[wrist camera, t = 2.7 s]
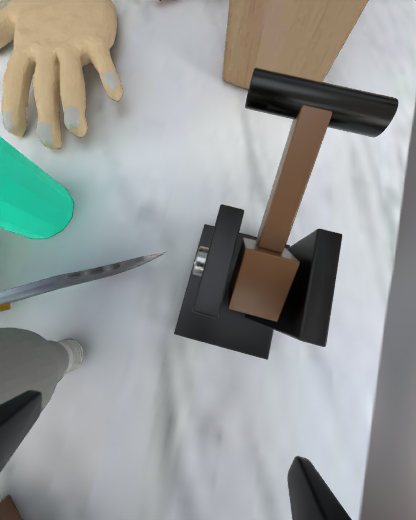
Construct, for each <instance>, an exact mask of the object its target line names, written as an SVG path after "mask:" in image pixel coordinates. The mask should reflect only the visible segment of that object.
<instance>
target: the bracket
mask: <svg viewBox="0 0 416 520" xmlns="http://www.w3.org/2000/svg"><path fill="white" fill-rule="evenodd" d="M243 214H244V210H242V209H238V208H234V207H230V206H226V205H220V208H219V212H218V216H217V220H216V223H215V227H214V226H210V225H207V224H205V225H204V228H203V232H202V235H201V239H200V242H199V246H198V250H197V253H196V257H195V260H194V264H193V268H192V271H191V275H190V278H189V282H188V286H187V289H186V293H185V296H184V300H183V304H182V307H181V311H180V314H179V318H178V321H177V325H176V329H175V332H174V334H176V335H180V336H183V337H187V338H191V339H194V340H198V341H201V342H205V343H209V344H212V345H216V346H220V347H223V348H227V349H231V350H234V351H238V352H242V353H245V354H249V355H253V356H256V357H260V358H263V359H268V355H269V350H270V345H271V340H272V335H273V330H276V331H279V332H281V333H283V334H286V335H288V336H290V337H293V338H295V339H298V340H300V341H303V342H307V343H311V344H315V345H318V346H322V347H325V346H326V342H327V335H328V328H329V321H330V315H331V308H332V301H333V294H334V288H335V281H336V274H337V267H338V261H339V254H340V247H341V240H342V234H339V233H335V232H331V231H327V230H323V229H317V230H315V231H314V232H312V233H311V234H309V235H308V236H306V237H305V238H303V239H301V240H300V241H298V242H297V243H295V244H294V245H292V246H291V247H290V245H285V248H286V249H287V250H288V251H289V252H290V253H291V254H292V255H293V256H294V257H295V258H296V259H297V260H298V261H299V262H300V264H299V267H298V269H297V272H296V274H295V277H294V280H293V282H292V285H291V287H290V290H289V292H288V295H287V298H286V300H285V303H284V305H283V308H282V311H281V313H280V316H279V318H278V321H272V320H269V319H265V318H261V317H257V316H254V315H250V314H246V313H242V312H239V311H235V310H231V309H228V297H229V285H230V281H231V278H232V274H233V271H234V267H235V264H236V260H237V257H238V253H239V250H240V246H241V243H242V239H243V238H248V239H252V240H256V239H257V237H254V236H250V235H246V234H242V233H239V231H240V227H241V222H242V218H243Z"/></svg>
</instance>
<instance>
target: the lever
mask: <svg viewBox="0 0 416 520" xmlns="http://www.w3.org/2000/svg"><path fill="white" fill-rule="evenodd" d="M245 108H246V109H251V110H255V111H259V112H264V113H268V114H273V115H277V116H281V117H286V118H290V119H293V122H292V126H291V129H290V132H289V135H288V139H287V142H286V145H285V148H284V152H283V155H282V158H281V161H280V165H279V168H278V171H277V174H276V178H275V181H274V184H273V187H272V191H271V194H270V197H269V200H268V203H267V207H266V210H265V213H264V216H263V220H262V223H261V226H260V229H259V233H258V236H257V239H256V240H252V239H248V238H243V239H242V243H241V246H240V250H239V253H238V257H237V260H236V264H235V267H234V271H233V274H232V278H231V281H230V285H229V297H228V309H231V310H235V311H239V312H242V313H246V314H250V315H254V316H257V317H261V318H265V319H269V320H272V321H278V318H279V316H280V313H281V311H282V308H283V305H284V303H285V300H286V298H287V295H288V292H289V290H290V287H291V285H292V282H293V280H294V277H295V274H296V272H297V269H298V267H299V264H300V262H299V261H298V260H297V259H296V258H295V257H294V256H293V255H292V254H291V253H290V252H289V251H288V250H287V249H286V248H285V245H286V243H287V240H288V237H289V234H290V231H291V229H292V226H293V223H294V220H295V217H296V214H297V212H298V209H299V206H300V203H301V200H302V197H303V195H304V192H305V189H306V186H307V183H308V181H309V178H310V175H311V172H312V169H313V166H314V164H315V161H316V158H317V155H318V152H319V149H320V147H321V144H322V141H323V138H324V135H325V133H326V130H327V127H330V128H334V129H339V130H343V131H347V132H352V133H356V134H361V135H365V136H369V137H377V136H378V135H380V134H381V133H382V132H383V131H384V130H385V129H386V128H387V126H388V125H389V124H390V122H391V121H392V119H393V117H394V115H395V113H396V111H397V108H398V100H397V99H396V98H393V97H388V96H384V95H379V94H374V93H370V92H365V91H361V90H356V89H352V88H347V87H342V86H338V85H333V84H329V83H324V82H320V81H315V80H311V79H306V78H301V77H297V76H292V75H288V74H283V73H279V72H274V71H269V70H265V69H260V68H254V70H253V73H252V77H251V81H250V85H249V90H248V94H247V99H246V104H245Z"/></svg>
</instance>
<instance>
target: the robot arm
mask: <svg viewBox="0 0 416 520" xmlns="http://www.w3.org/2000/svg"><path fill="white" fill-rule="evenodd" d="M42 396H43V395H42V392H40V391H36V390H28V391H25V392H23V393H22V394H20V395H18V396H16V397H14V398H12V399H10V400H8V401H6V402H4V403H2V404H0V472H1V471H2V469H3V468H4V466H5V465H6V464H7V462H8V461H9V459H10V458H11V456H12V455H13V453H14V452H15V451H16V449H17V448H18V446H19V445H20V443H21V442H22V441H23V439H24V438H25V436H26V435H27V433H28V432H29V430H30V429H31V428H32V426H33V425H34V423H35V422H36V420H37V419H38V417H39V415H40V413H41V409H42ZM288 488H289V496H290V503H291V511H292V519H293V520H351V518H350V517H349V515H348V514H347V513H346V511H345V510H344V508H343V507H342V506H341V504H340V503H339V501H338V500H337V499H336V497H335V496H334V494H333V493H332V491H331V490H330V489H329V487H328V486H327V484H326V483H325V482H324V480H323V479H322V477H321V476H320V474H319V473H318V472H317V470H316V469H315V467H314V466H313V465H312V463H311V462H310V461H309V460H308V459H307V458H303V457H299V456H296V457H295V458H294V460H293V463H292V465H291V467H290V469H289V472H288Z"/></svg>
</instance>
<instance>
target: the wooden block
mask: <svg viewBox="0 0 416 520" xmlns="http://www.w3.org/2000/svg"><path fill="white" fill-rule="evenodd" d="M368 1H369V0H230V2H229V12H228V23H227V33H226V44H225V54H224V64H223V80H224V81H225V82H228V83H231V84H234V85H237V86H240V87H243V88H246V89H249V85H250V81H251V77H252V73H253V70H254V68H260V69H265V70H269V71H274V72H279V73H283V74H288V75H292V76H297V77H301V78H306V79H311V80H315V81H320V82H323V80H324V78H325V76H326V75H327V73H328V71H329V69H330V68H331V66H332V64H333V62H334V60H335V59H336V57H337V55H338V53H339V52H340V50H341V48H342V46H343V45H344V43H345V41H346V39H347V38H348V36H349V34H350V32H351V31H352V29H353V27H354V25H355V23H356V22H357V20H358V18H359V16H360V15H361V13H362V11H363V9H364V8H365V6H366V4H367V2H368Z"/></svg>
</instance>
